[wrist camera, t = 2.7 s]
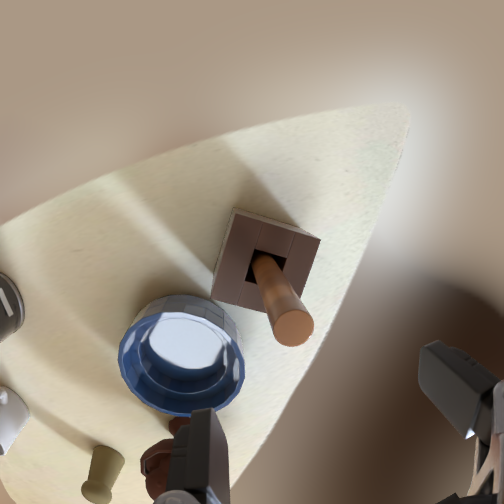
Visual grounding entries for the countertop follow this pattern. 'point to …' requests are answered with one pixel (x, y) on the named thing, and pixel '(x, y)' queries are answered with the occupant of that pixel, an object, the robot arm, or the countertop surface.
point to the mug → (11, 418)
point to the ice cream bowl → (160, 460)
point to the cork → (102, 475)
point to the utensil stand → (265, 239)
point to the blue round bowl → (182, 356)
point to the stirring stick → (281, 302)
